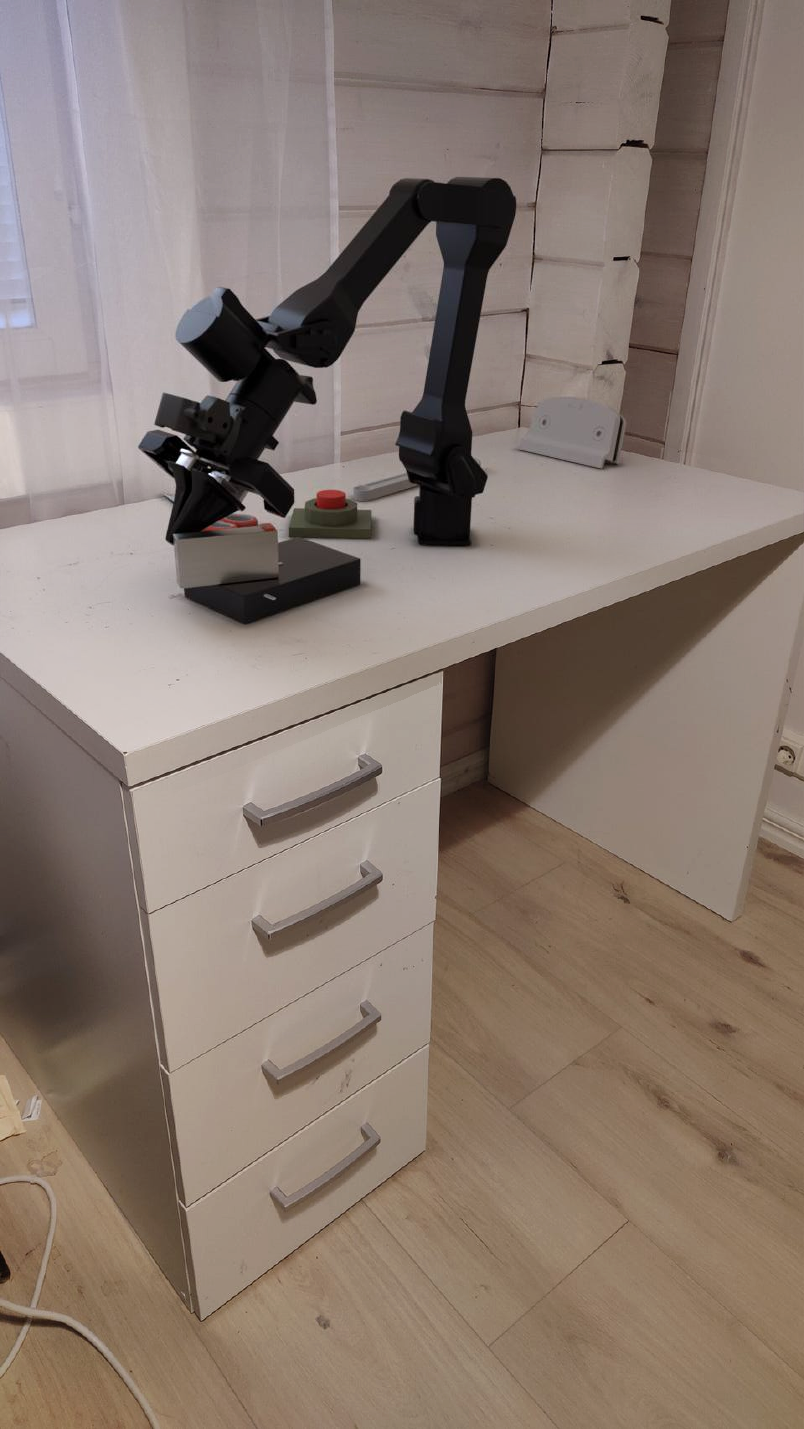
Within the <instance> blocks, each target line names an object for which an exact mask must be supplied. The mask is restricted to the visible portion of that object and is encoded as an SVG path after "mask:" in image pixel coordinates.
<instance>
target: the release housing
mask: <svg viewBox="0 0 804 1429" xmlns="http://www.w3.org/2000/svg"><path fill="white" fill-rule="evenodd" d="M372 515H373V514H372V509H358V502H356V501H355V500H354V499H353V500H352V499H351V498H346V507H345V508H341V509H322V508H318V507H317V497H315V498H312V499H309V500H307V501H305V502H304V507H303V508H302V507H301V508H299V507H298V508H297V507H294V508H293V510H292V514H291V518H290V521H289V524H288V537H289V538H296V537H301V538H325V539H326V538H330V539H332V538H333V539H372V538H371V537H372Z"/></svg>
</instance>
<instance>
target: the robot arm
mask: <svg viewBox="0 0 804 1429" xmlns="http://www.w3.org/2000/svg"><path fill="white" fill-rule="evenodd" d="M516 214H517V196H515V195H514V193H513V190H512V188H511V186H510V184H509V183H508V182H507V181H506V180H504V178H503V179H502V178H501V177H477V176H476V177H474V176H472V177H471V176H455V177H453V178H451V179H449V181H448V182H447V183H445V182H439V181H438V182H437V181H434V180H433V179H429V178H416V177H415V178H413V177H412V178H411V177H405V178H404V177H403V178H401V179H399V180H398V181H396V182H395V183H394V184H392V186H391V188H390V190H389V192H388V195H387V197H386V198H385V200H383V202H382V203H381V204H380V205H379V207H378V208H377V209H376V211H375V212H374V213H373V214H372V215H371V216H370V218H369V219H368V220H367V221H366V222H365V223H364V225H363V226H362V227H361V228H360V229H359V230H358V232H357V233H356V234H355V236H354V237H353V238H352V239H351V241H350V242H349V243H348V244H347V245H346V247H345V248H344V249H343V250H342V251H341V253H340V254H339V255H338V256H337V257H336V258H335V260H334V261H333V262H332V264H331V265H330V266H329V267H328V269H327V270H326V271H325V272H324V273H323V274H321V275H320V276H318V278H316V279H314V280H313V281H311V282H309V283H307V284H305V285H303V286H302V287H299V288H298V289H295V291H294V292H293V293H291V294H290V295H289V296H288V297H286V298H285V299H284V300H283V301H281V302H280V303H279V304H278V305H277V306H276V307H274V309H273V310H272V312H271V313H270V315H266V316H263V317H259V318H256V319H255V317H253V315H252V314H251V313H250V312H249V311H248V310H247V309H246V307H244V306H243V304H242V303H241V301H240V299H239V297H238V296H237V294H235V293H234V292H233V290H232V289H230V288H227V287H223V286H217V287H215V290H214V291H213V293H212V294H211V295H208V296H206V297H203V299H200V300H199V301H198V302H197V303H195V304H194V305H193V306H192V307H191V308H188V309H186V311H185V312H184V313H183V314H182V316H181V318H180V319H179V321H178V323H177V325H176V328H175V333H174V337H175V340H176V341H177V342H178V343H179V344H180V345H181V346H182V347H183V348H184V349H185V350H186V351H187V352H188V353H189V354H190V356H192V357H193V358H194V359H195V360H196V361H197V362H198V363H199V364H200V365H201V366H202V367H203V368H205V370H206V371H207V372H208V373H210V374H211V375H212V377H214V378H215V379H216V380H217V381H218V382H220V383H227V382H230V381H233V382H235V384H234V386H233V387H232V389H231V390H230V392H229V394H228V395H227V397H226V398H225V399H222V398H219V397H217V396H213V395H208V394H207V395H205V396H204V397H203V399H202V400H201V402H199V401H197V400H192V399H189V398H186V397H183V396H179V395H174V394H171V393H168V392H162V395H161V397H160V401H159V405H158V409H157V412H156V416H155V420H154V423H153V424H154V426H156V427H159V428H162V429H164V428H168V429H170V430H171V431H173V432H177V433H180V434H182V435H184V436H183V439H182V438H181V437H179V435H177V434H174V433H171V432H167V431H164V430H161V429H154V430H148V431H147V432H146V433H145V435H144V436H143V438H142V439H141V441H140V442H139V444H138V446H137V448H138V450H139V451H141V452H142V453H143V454H144V455H145V456H146V457H147V458H149V459H150V460H151V461H152V462H153V463H155V464H156V465H157V466H158V467H159V468H160V469H161V470H163V471H164V472H165V473H166V474H167V475H168V476H169V477H171V478H172V479H173V480H174V483H175V492H174V502H172V503H173V504H172V508H171V511H170V516H169V520H168V524H167V528H166V534H165V538H164V539H165V541H166V543H168V544H169V545H171V546H173V547H174V541H173V534H179V533H189V532H200V531H202V530H203V529H205V528H207V527H209V526H210V525H212V524H214V523H215V522H217V521H219V520H221V519H223V518H225V517H227V516H229V515H231V514H232V513H233V514H235V513H236V512H244V511H245V510H246V509H247V507H246V505H244V503H243V502H244V500H245V498H246V496H247V495H248V494H249V493H252V494H255V495H258V496H260V497H261V498H262V499H263V500H262V502H263V509H264V510H265V511H266V512H267V513H269V514H272V515H274V516H277V517H280V518H283V519H286V517H287V515H289V512H290V511H291V509H292V507H293V506H294V505H295V500H296V499H295V489H294V488H293V486H291V484H289V482H287V480H286V479H285V478H283V476H281V475H280V473H279V472H278V471H276V469H275V468H273V466H272V465H271V464H270V463H269V462H266V461H263V460H260V457H261V455H262V454H263V453H264V451H265V449H267V450H271V451H275V450H276V448H277V447H278V445H279V443H280V442H279V441H278V439H277V438H276V437H275V436H274V435H275V433H276V432H277V430H278V428H279V427H280V425H281V424H282V422H283V421H284V418H286V416H287V414H288V413H289V411H290V409H291V407H292V406H293V405H294V403H300V404H305V405H311V406H314V405H316V404H317V403H318V399H317V392H316V390H315V388H314V378H313V377H312V376H311V375H310V376H309V375H302V374H300V373H299V372H297V370H296V369H295V368H294V367H293V366H292V364H290V362H291V363H295V364H299V365H303V366H307V367H310V368H314V369H324V368H325V369H326V368H327V369H328V368H329V367H331V366H332V365H334V364H335V363H336V362H337V361H338V360H339V358H340V357H341V356H342V354H343V352H344V350H345V349H346V347H347V346H348V344H349V342H350V340H351V339H352V337H353V334H354V333H355V331H356V326H357V320H358V316H359V312H360V311H361V309H362V307H363V305H364V304H365V302H366V301H367V299H368V298H370V296H371V295H372V293H373V292H374V291H375V290H376V288H378V286H379V285H380V284H381V282H382V281H383V280H384V279H385V277H386V276H387V275H388V274H389V273H390V271H391V270H392V269H393V268H394V266H395V265H396V264H397V263H398V262H399V260H400V259H401V258H402V257H403V255H405V253H406V252H407V251H408V249H409V248H411V246H412V244H413V243H414V242H415V241H416V240H417V238H418V237H419V236H420V235H421V233H423V231H424V230H425V229H426V227H427V226H428V225H429V224H430V223H431V222H435V238H436V240H437V243H438V247H439V251H440V254H441V257H442V261H443V268H442V274H441V281H440V286H439V288H440V289H439V293H438V300H437V306H436V312H435V318H434V325H433V332H432V337H431V344H430V349H429V355H428V361H427V368H426V375H425V379H424V386H423V393H422V396H421V399H420V400H419V402H418V403H417V404H416V406H415V407H414V409H413V410H412V411H408V410H403V411H401V414H400V417H399V418H400V419H399V421H400V422H399V433H398V437H397V439H396V440H395V443H394V445H395V446H396V447H398V459H399V462H401V464H402V466H403V467H404V469H405V471H406V472H405V473H407V475H408V479H409V482H410V483H412V484H414V483H415V484H417V485H418V486H419V489H418V490H419V491H418V492H419V493H418V495H415V496H414V498H413V523H412V524H413V525H412V526H413V527H412V529H413V535H415V536H416V538H417V544H420V545H439V546H440V545H441V546H442V545H449V546H471V545H472V536H471V522H472V508H473V507H472V505H473V498H475V497H476V495H480V494H483V493H484V491H485V487H486V485H487V482H488V479H489V477H488V474H487V473H486V471H485V470H484V469H483V468H482V466H480V465H479V464H478V463H477V462H476V461H475V458H474V457H473V455H472V449H473V430H472V426H471V422H470V419H469V416H468V412H467V409H466V399H467V394H468V388H469V382H470V376H471V371H472V365H473V360H474V354H475V349H476V343H477V338H478V333H479V332H478V331H479V326H480V320H481V316H482V310H483V309H482V308H483V304H484V297H485V293H486V286H487V281H488V276H489V272H490V270H491V268H492V267H493V266H494V265H495V263H496V261H497V260H498V259H499V257H500V256H501V254H502V253H503V252H504V250H505V249H506V247H507V245H508V242H509V238H510V235H511V231H512V227H513V224H514V221H515V218H516ZM268 349H271V350H272V351H273V352H274V354H275V355H277V356H278V357H279V358H276V357H274V356H273V355H272V354H271V353H270V352H269V351H268ZM191 447H192V448H191ZM194 449H195V450H194Z"/></svg>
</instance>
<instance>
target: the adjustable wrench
mask: <svg viewBox="0 0 804 1429" xmlns="http://www.w3.org/2000/svg"><path fill="white" fill-rule="evenodd" d="M474 459H475V461H476V462H477V463H478V464H479V465H480V467H482V466H481V464H482V463H481V462H482V461H481V460H480V459H479V458H474ZM417 486H419V485H417V484H415V483H414V484H412V483H410V482H409V479H408V475H407V472H404V473H400V474H396V475H393V476H389V477H385V478H382V479H378V480H374V481H371V482H367V483H363V484H360V485H359V484H358V485H356V486H353V487H352V499H353V501H359V502H368V501H372V500H375V499H379V498H381V497H384V496H388V495H392V494H396V493H398V492H402V491H405V490H407V489H411V488H414V487H417Z"/></svg>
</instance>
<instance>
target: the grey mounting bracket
mask: <svg viewBox="0 0 804 1429" xmlns="http://www.w3.org/2000/svg"><path fill="white" fill-rule="evenodd" d="M534 412H535V413H534V414H533V417H532V421H531V422H530V425H529V427H528V428H527V429H528V430H527V432H526V434H525V435H523V436H522V437H521V439H520V442H519V446H518V450H520V451H523V452H527V453H528V452H529V453H532V454H537V455H541V456H546V457H550V458H555V459H559V460H563V461H568V462H572V463H575V464H579V465H584V466H587V467H592V468H597V469H603V468H604V465H605V462H607V463H611V464H617V465H619V464H620V460H621V454H622V450H623V444H624V443H623V442H624V439H625V438H624V437H625V433H626V428H627V421H626V418H624V416H623V415H622V414H620V413H619V412H618V411H616V410H614V409H613V408H611V407H609V406H607V405H606V404H603V403H602V402H599V401H596V400H594V399H589V398H585V397H577V396H554V397H549V398H545V399H542V400H540V402H539V403H538V404H537V406H536V410H535V411H534Z"/></svg>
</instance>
